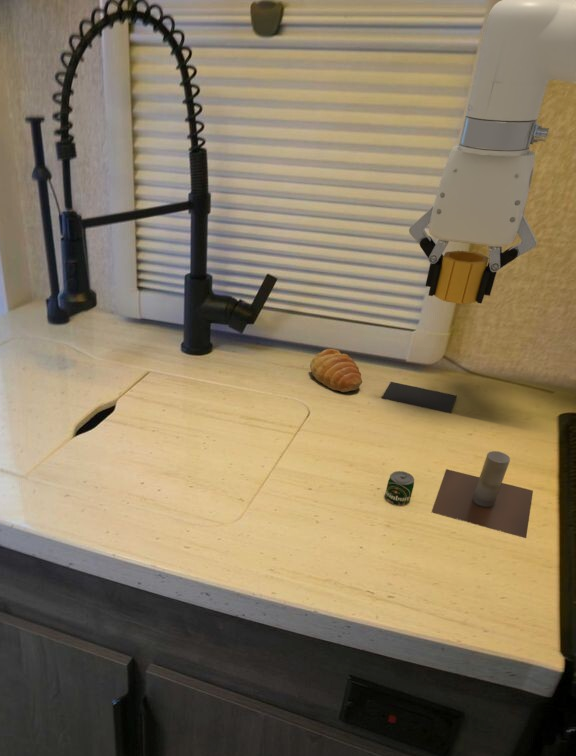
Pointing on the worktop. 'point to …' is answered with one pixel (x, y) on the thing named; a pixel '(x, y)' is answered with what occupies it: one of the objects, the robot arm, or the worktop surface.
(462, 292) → the sleeve
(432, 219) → the robot arm
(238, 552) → the worktop surface
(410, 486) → the beer can
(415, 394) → the mat
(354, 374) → the pastry
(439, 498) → the stand
